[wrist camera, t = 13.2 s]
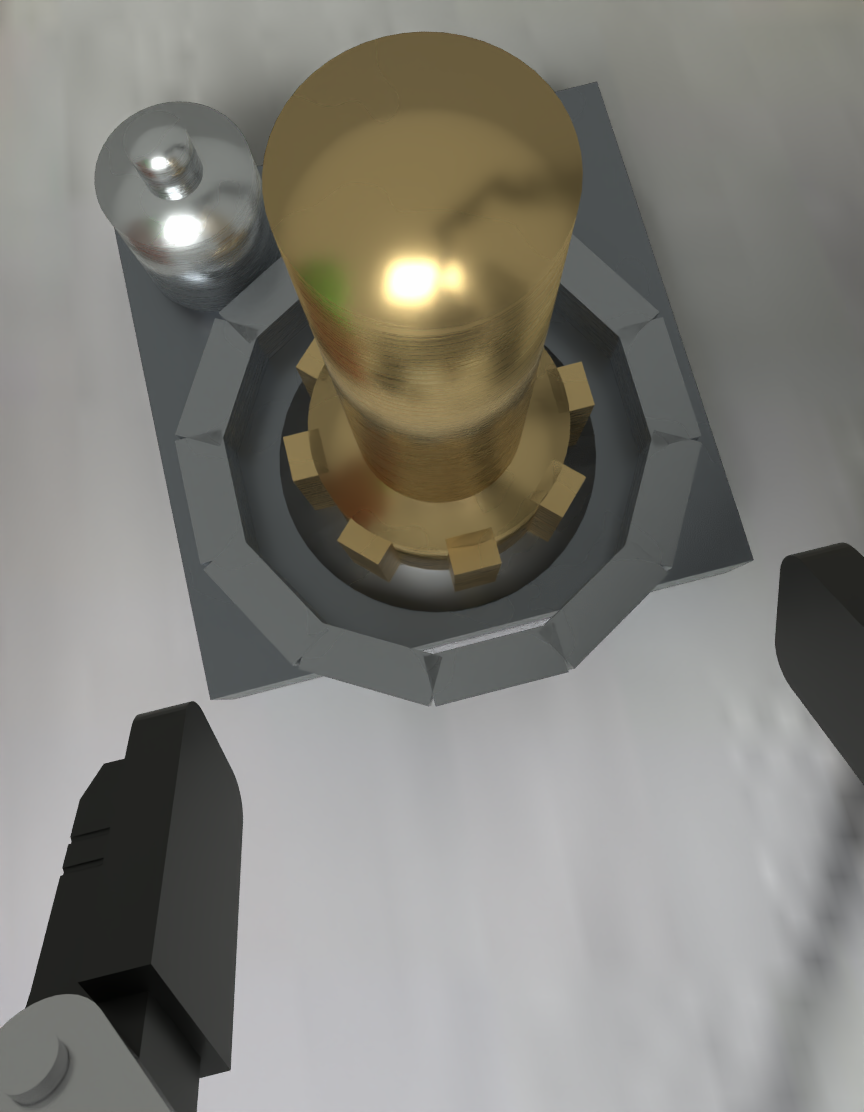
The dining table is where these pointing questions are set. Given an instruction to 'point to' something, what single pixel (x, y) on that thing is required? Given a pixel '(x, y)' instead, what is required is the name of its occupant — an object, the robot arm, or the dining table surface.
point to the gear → (430, 299)
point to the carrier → (282, 409)
